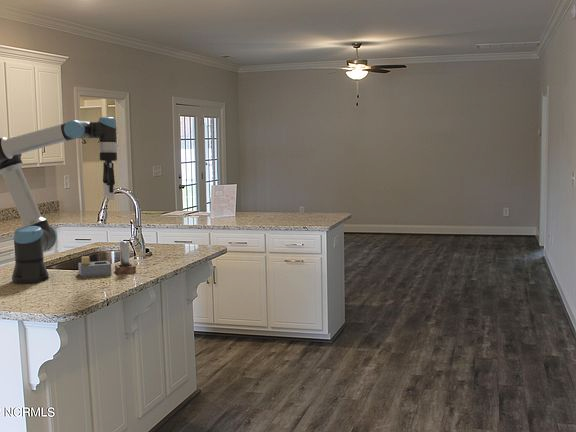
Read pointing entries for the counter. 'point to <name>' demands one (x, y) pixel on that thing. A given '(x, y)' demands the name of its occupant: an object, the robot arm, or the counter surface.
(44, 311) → the counter surface
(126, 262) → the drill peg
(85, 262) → the tan rectangular block
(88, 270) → the chuck block
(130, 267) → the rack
